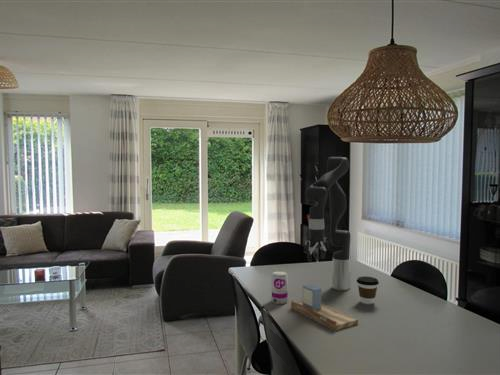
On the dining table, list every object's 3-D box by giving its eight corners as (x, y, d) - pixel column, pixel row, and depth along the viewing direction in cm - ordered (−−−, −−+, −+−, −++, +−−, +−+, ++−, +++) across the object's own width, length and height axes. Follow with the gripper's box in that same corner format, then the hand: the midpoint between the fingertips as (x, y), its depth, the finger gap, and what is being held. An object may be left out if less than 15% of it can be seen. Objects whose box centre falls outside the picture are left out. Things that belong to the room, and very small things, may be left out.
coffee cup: (379, 300, 205) (380, 277, 204) (376, 307, 195) (377, 283, 194) (358, 297, 209) (358, 275, 209) (354, 304, 200) (354, 280, 199)
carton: (321, 309, 187) (321, 288, 186) (312, 311, 184) (313, 290, 184) (310, 304, 194) (310, 284, 193) (302, 305, 191) (302, 285, 191)
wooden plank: (313, 303, 200) (313, 295, 200) (358, 323, 175) (358, 315, 174) (290, 308, 193) (290, 300, 192) (334, 330, 167) (334, 321, 167)
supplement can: (286, 305, 198) (286, 275, 197) (270, 303, 199) (270, 274, 199) (288, 299, 206) (288, 271, 205) (272, 298, 207) (272, 270, 206)
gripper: (310, 230, 186) (310, 264, 187) (332, 227, 193) (332, 259, 195) (300, 227, 192) (300, 260, 194) (322, 224, 200) (322, 256, 201)
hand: (316, 259), depth 194 cm, fingers open, 8 cm apart
